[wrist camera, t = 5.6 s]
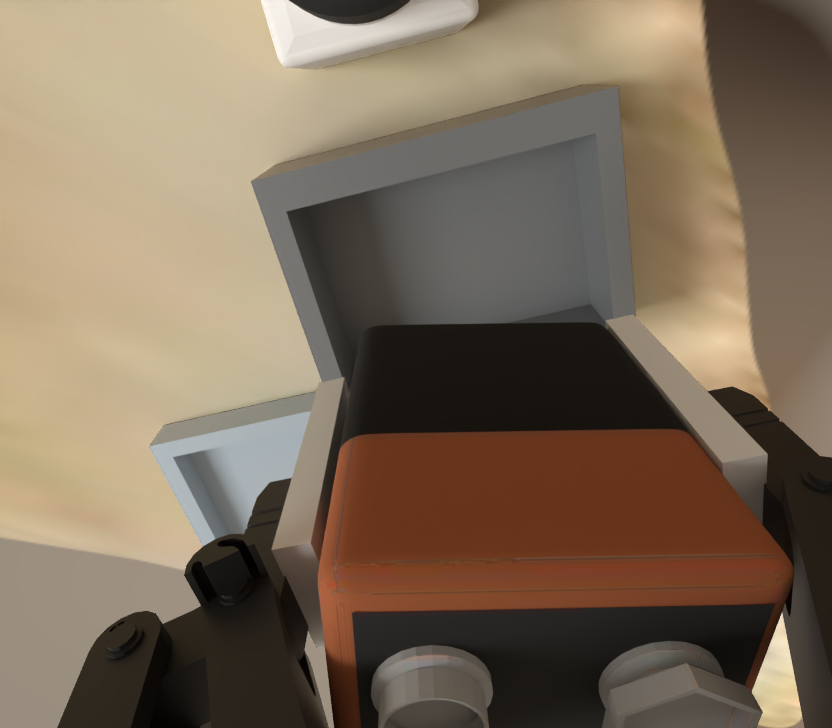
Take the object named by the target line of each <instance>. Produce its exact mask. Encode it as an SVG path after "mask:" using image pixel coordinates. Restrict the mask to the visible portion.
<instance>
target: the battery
mask: <svg viewBox="0 0 832 728" xmlns="http://www.w3.org/2000/svg"><path fill="white" fill-rule="evenodd" d="M793 580H794V568H793V565H792V563H791V561H790V560H789V558H788V557H787V555H786V554H785V553H784V551H783V550H782V549H781V547H780V546H779V545H778V544H777V542H776V541H775V540H774V539H773V537H772V536H771V535H770V534H769V532H768V531H767V530H766V528H765V527H764V526H763V525H762V523H761V522H760V521H759V520H758V518H757V517H756V516H755V515H754V513H753V512H752V511H751V510H750V508H749V507H748V506H747V505H746V503H745V502H744V501H743V500H742V498H741V497H740V496H739V495H738V493H737V492H736V491H735V490H734V488H733V487H732V486H731V485H730V483H729V482H728V481H727V480H726V478H725V477H724V476H723V475H722V473H721V472H720V471H719V469H718V468H717V467H716V466H715V464H714V463H713V462H712V461H711V459H710V458H709V457H708V456H707V454H706V453H705V452H704V451H703V449H702V448H701V447H700V446H699V444H698V443H697V442H696V441H695V439H694V438H693V437H692V436H691V434H690V433H689V432H688V431H687V429H686V428H685V427H684V426H683V424H682V423H681V422H680V421H679V419H678V418H677V417H676V415H675V414H674V413H673V412H672V410H671V409H670V408H669V407H668V405H667V404H666V403H665V402H664V400H663V399H662V398H661V397H660V395H659V394H658V393H657V392H656V390H655V389H654V388H653V387H652V385H651V384H650V383H649V382H648V380H647V379H646V378H645V377H644V375H643V374H642V373H641V372H640V370H639V369H638V368H637V367H636V365H635V364H634V363H633V361H632V360H631V359H630V358H629V356H628V355H627V354H626V353H625V351H624V350H623V349H622V348H621V346H620V345H619V344H618V343H617V341H616V340H615V339H614V338H613V336H612V335H611V334H610V333H609V331H608V330H607V329H606V328H605V327H604V326H602V325H600V324H598V323H593V322H558V323H489V324H420V325H380V326H373V327H370V328H368V329H366V330H365V331H364V332H363V333H362V335H361V337H360V340H359V344H358V349H357V355H356V360H355V366H354V372H353V377H352V383H351V389H350V394H349V400H348V406H347V411H346V417H345V423H344V428H343V434H342V440H341V445H340V451H339V456H338V462H337V468H336V473H335V479H334V485H333V490H332V496H331V502H330V507H329V513H328V519H327V524H326V530H325V536H324V541H323V547H322V553H321V558H320V564H319V571H318V591H319V600H320V609H321V618H322V626H323V635H324V644H325V651H326V661H327V670H328V678H329V687H330V695H331V704H332V713H333V721H334V728H756V727H757V725H758V722H759V720H760V718H761V715H762V713H763V712H762V710H761V708H760V706H759V705H758V703H757V701H756V699H755V698H754V696H753V694H752V689H753V687H754V684H755V681H756V679H757V676H758V673H759V671H760V668H761V666H762V663H763V660H764V658H765V655H766V653H767V650H768V647H769V645H770V642H771V639H772V637H773V634H774V632H775V629H776V626H777V624H778V621H779V619H780V616H781V613H782V611H783V608H784V605H785V603H786V600H787V598H788V595H789V592H790V589H791V587H792V583H793Z"/></svg>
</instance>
